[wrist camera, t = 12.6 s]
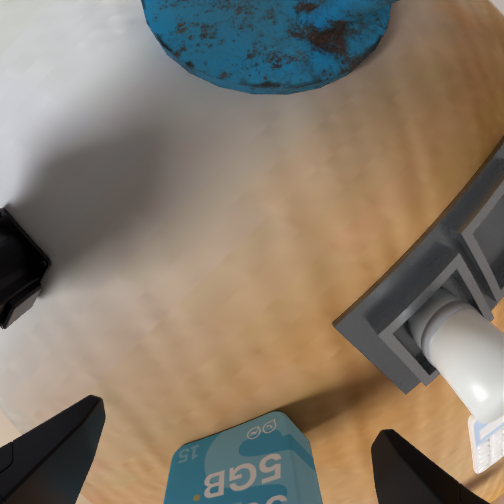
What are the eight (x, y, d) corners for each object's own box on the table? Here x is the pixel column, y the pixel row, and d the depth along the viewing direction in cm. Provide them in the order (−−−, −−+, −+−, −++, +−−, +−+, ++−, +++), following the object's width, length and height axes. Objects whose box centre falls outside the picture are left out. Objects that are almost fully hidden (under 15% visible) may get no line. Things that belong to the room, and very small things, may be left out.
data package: (284, 404, 24) (304, 529, 13) (308, 431, 26) (332, 543, 14) (172, 447, 26) (153, 552, 14) (201, 469, 27) (192, 568, 16)
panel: (331, 323, 22) (339, 338, 20) (504, 135, 18) (522, 135, 16) (403, 390, 25) (412, 405, 23) (545, 230, 21) (560, 235, 19)
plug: (398, 344, 22) (479, 459, 11) (418, 285, 21) (529, 384, 9) (445, 344, 23) (528, 439, 11) (465, 290, 21) (569, 371, 9)
